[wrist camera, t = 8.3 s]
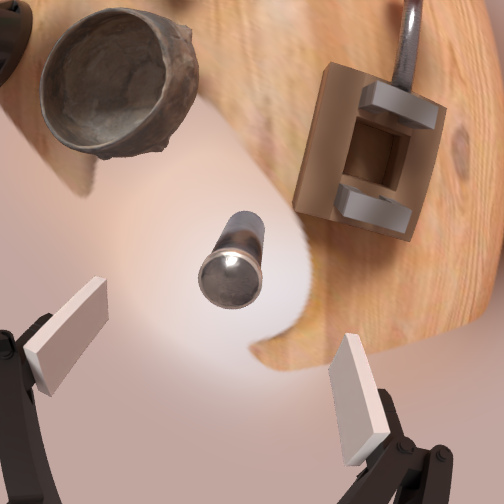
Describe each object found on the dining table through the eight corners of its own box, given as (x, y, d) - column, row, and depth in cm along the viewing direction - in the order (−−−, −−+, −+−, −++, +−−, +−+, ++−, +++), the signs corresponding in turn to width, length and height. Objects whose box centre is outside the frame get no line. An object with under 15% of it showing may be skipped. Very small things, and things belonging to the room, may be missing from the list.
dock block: (292, 201, 30) (298, 224, 23) (323, 70, 25) (340, 49, 18) (395, 229, 31) (427, 258, 23) (428, 109, 25) (470, 106, 18)
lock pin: (365, 108, 24) (393, 101, 18) (388, -31, 17) (411, -60, 11) (398, 121, 24) (433, 119, 18) (418, -18, 18) (446, -43, 11)
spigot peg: (221, 244, 33) (194, 301, 21) (228, 205, 31) (202, 245, 20) (261, 253, 33) (254, 315, 22) (270, 214, 31) (268, 260, 20)
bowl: (187, 167, 30) (150, 183, 21) (71, 136, 29) (13, 143, 20) (231, 42, 25) (212, 4, 15) (105, 25, 24) (55, 1, 14)
